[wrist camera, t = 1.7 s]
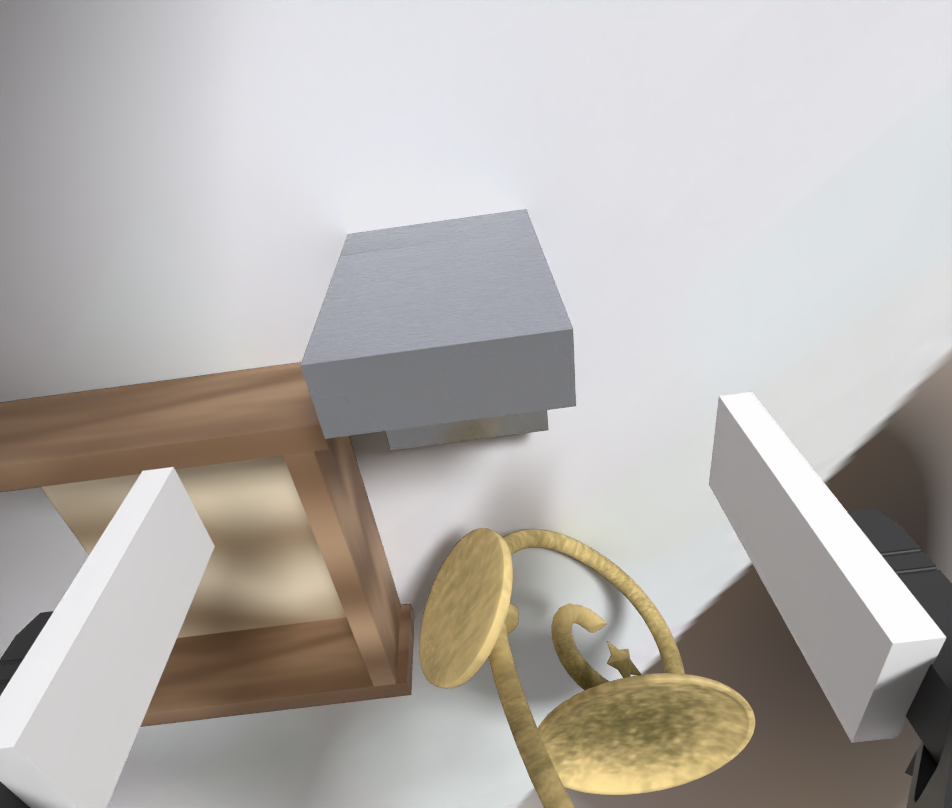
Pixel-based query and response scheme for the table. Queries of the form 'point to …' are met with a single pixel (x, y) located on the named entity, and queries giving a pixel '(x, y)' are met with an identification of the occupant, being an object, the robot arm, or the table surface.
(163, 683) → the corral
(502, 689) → the wall sconce
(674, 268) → the table surface
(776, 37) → the table surface
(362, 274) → the angle bracket
